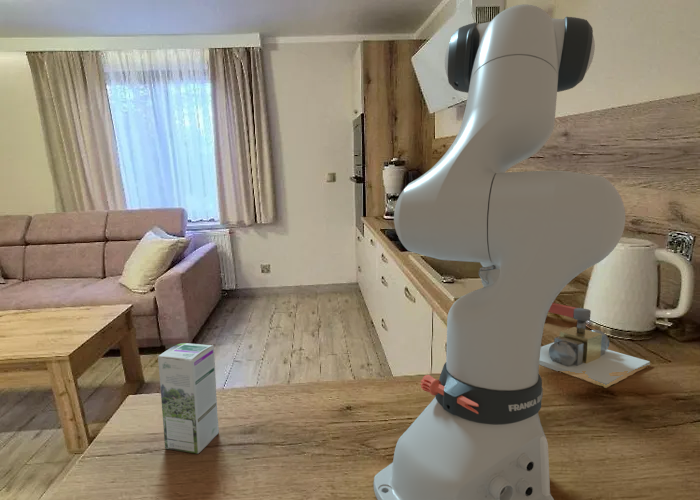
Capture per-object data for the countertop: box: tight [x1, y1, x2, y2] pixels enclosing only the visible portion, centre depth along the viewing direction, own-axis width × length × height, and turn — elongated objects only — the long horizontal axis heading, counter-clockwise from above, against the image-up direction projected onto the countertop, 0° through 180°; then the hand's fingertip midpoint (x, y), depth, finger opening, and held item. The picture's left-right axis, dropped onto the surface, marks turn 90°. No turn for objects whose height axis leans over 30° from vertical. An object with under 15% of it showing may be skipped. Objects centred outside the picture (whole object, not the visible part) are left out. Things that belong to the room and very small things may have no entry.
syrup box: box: [157, 342, 220, 455], centre depth 59 cm, size 6×6×14 cm
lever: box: [548, 302, 592, 322], centre depth 91 cm, size 3×12×2 cm, turn 33°
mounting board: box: [539, 342, 651, 385], centre depth 88 cm, size 19×18×1 cm
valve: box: [549, 320, 610, 366], centre depth 88 cm, size 15×6×9 cm, turn 123°
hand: (538, 312), depth 91 cm, fingers closed
